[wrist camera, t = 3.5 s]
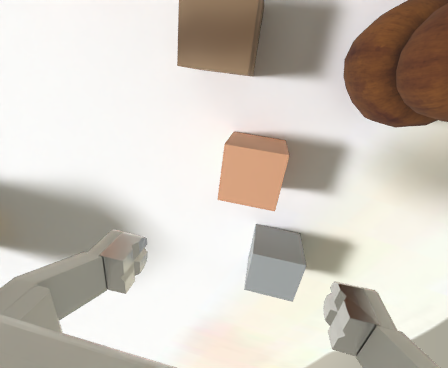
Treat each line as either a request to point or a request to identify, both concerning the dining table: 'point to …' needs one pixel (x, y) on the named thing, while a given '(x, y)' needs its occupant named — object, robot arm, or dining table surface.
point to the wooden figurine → (402, 65)
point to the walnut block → (219, 35)
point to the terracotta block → (253, 170)
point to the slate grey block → (275, 262)
